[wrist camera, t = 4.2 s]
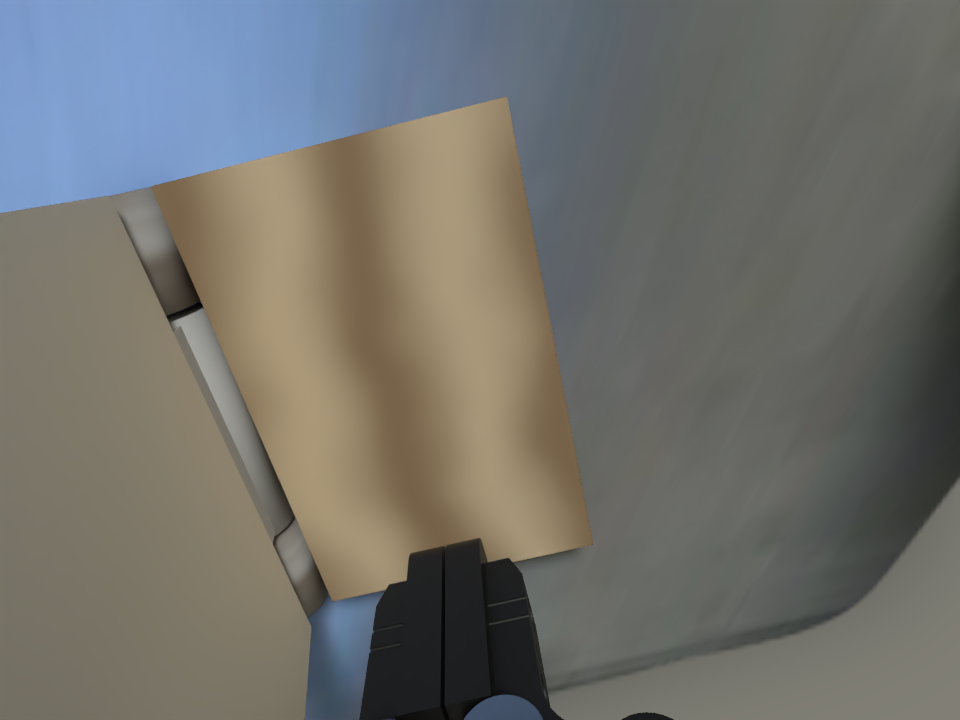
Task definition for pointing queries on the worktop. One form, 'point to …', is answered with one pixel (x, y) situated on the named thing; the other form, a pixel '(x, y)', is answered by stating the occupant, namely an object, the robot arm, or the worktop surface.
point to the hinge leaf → (130, 497)
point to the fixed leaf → (382, 342)
